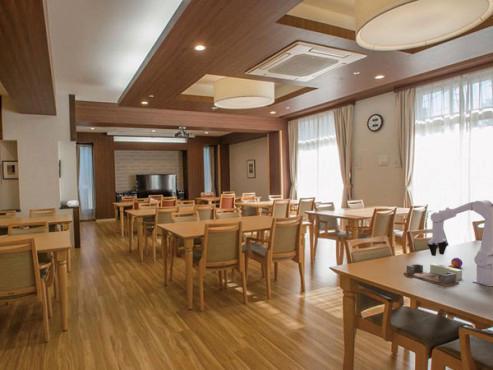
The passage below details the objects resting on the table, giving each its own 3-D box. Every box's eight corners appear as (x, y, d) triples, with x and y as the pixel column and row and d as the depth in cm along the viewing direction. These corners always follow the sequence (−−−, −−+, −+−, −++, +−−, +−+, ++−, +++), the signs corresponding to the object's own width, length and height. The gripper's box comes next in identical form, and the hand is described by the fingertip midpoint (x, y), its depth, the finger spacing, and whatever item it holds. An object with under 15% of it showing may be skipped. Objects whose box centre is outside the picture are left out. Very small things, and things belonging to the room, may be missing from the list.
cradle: (458, 283, 177) (459, 274, 177) (446, 286, 172) (446, 276, 172) (416, 271, 200) (416, 262, 199) (403, 274, 195) (403, 265, 194)
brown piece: (440, 264, 201) (452, 256, 214) (442, 274, 201) (454, 266, 214) (451, 264, 197) (462, 256, 210) (453, 274, 196) (464, 266, 210)
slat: (461, 279, 186) (462, 270, 186) (457, 280, 184) (457, 271, 184) (434, 271, 200) (434, 263, 200) (430, 272, 199) (430, 264, 198)
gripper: (439, 230, 207) (438, 252, 207) (423, 232, 200) (423, 254, 201) (450, 232, 201) (450, 254, 201) (435, 234, 194) (434, 257, 194)
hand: (437, 255), depth 200 cm, fingers open, 7 cm apart
